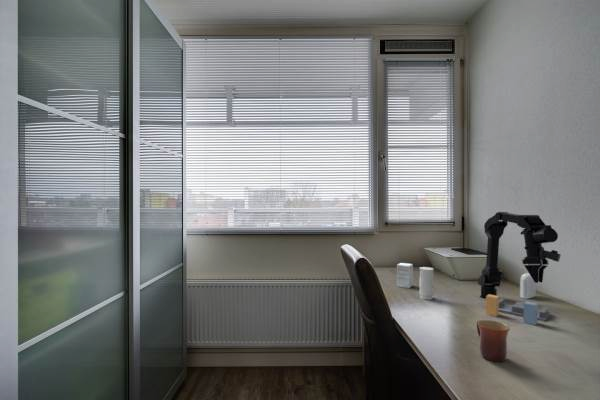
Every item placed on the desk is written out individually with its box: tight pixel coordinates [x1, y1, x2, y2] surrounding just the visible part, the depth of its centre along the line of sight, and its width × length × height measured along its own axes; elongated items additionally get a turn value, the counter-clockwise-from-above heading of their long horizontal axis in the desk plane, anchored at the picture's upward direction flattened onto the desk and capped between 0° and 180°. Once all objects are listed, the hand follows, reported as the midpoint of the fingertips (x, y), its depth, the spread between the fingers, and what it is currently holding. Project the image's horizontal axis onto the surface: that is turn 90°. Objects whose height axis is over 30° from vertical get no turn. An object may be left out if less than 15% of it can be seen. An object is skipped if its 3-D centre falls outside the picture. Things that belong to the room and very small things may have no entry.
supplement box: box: [396, 262, 414, 289], centre depth 194 cm, size 7×7×13 cm
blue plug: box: [523, 300, 539, 326], centre depth 137 cm, size 4×4×8 cm
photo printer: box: [519, 272, 537, 300], centre depth 174 cm, size 10×4×12 cm, turn 123°
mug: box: [476, 319, 510, 362], centre depth 108 cm, size 12×9×10 cm
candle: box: [418, 266, 435, 301], centre depth 171 cm, size 7×7×15 cm
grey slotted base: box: [499, 298, 551, 322], centre depth 150 cm, size 20×12×3 cm, turn 45°
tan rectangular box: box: [485, 294, 500, 317], centre depth 147 cm, size 4×4×8 cm
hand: (538, 282), depth 138 cm, fingers open, 9 cm apart
